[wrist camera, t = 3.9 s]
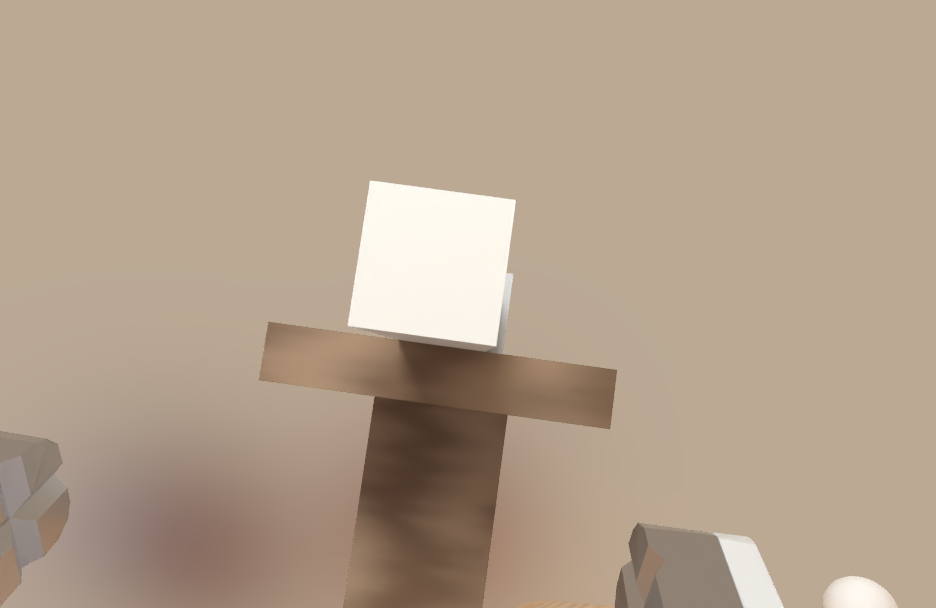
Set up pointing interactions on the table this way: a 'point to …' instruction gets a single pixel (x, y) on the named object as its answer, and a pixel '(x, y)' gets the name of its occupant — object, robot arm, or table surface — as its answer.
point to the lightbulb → (856, 594)
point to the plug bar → (434, 267)
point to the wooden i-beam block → (431, 450)
